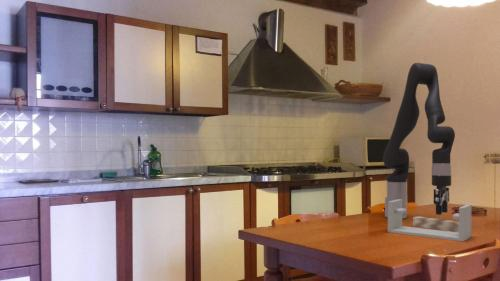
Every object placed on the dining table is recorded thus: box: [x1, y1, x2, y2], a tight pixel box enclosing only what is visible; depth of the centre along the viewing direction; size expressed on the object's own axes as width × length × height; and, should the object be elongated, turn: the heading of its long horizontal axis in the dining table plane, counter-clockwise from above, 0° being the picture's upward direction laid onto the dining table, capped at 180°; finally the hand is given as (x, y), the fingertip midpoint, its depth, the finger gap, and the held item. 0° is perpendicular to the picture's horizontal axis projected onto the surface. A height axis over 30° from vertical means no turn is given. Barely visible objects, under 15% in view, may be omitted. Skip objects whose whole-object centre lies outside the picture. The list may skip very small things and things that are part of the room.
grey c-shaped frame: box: [387, 199, 472, 242], centre depth 182 cm, size 28×12×12 cm, turn 52°
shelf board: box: [412, 216, 459, 233], centre depth 195 cm, size 22×5×4 cm, turn 41°
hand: (441, 213), depth 195 cm, fingers open, 8 cm apart
